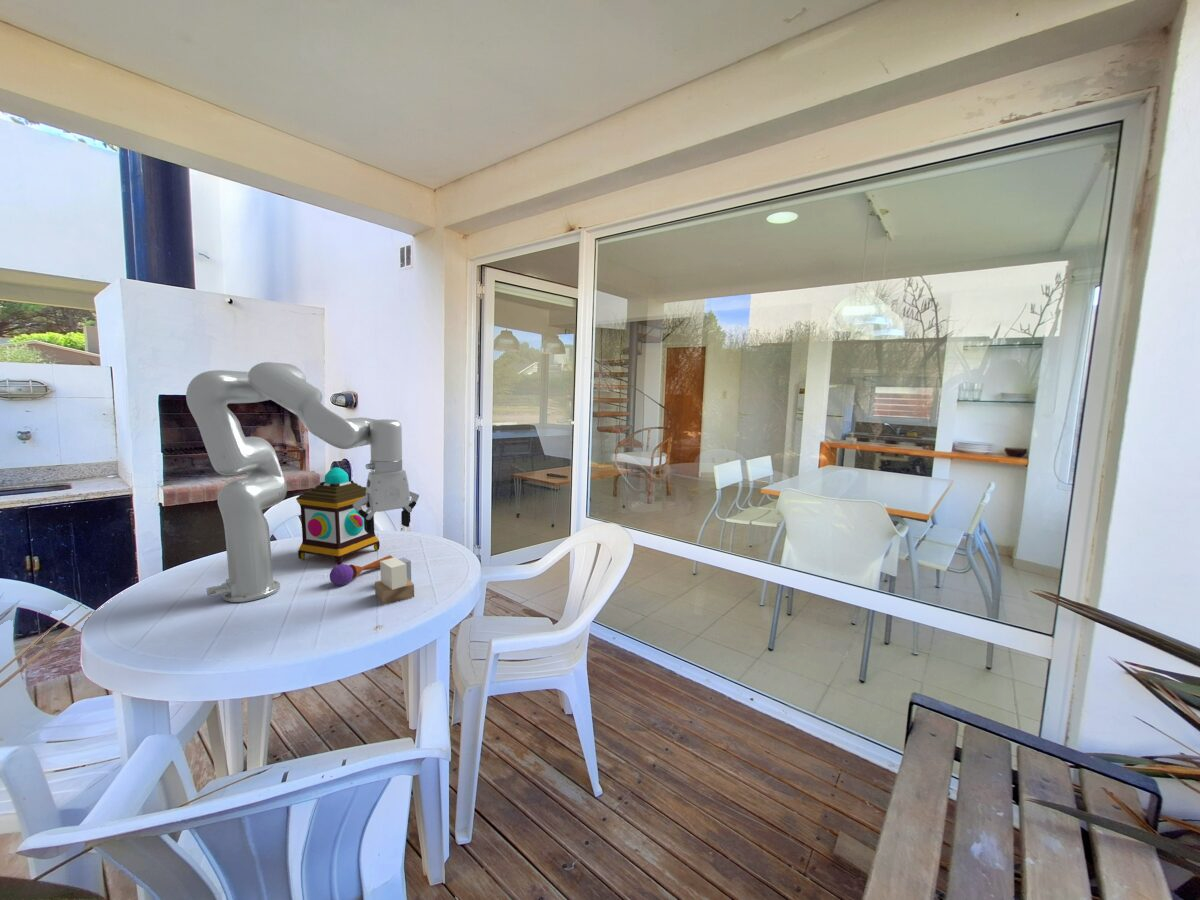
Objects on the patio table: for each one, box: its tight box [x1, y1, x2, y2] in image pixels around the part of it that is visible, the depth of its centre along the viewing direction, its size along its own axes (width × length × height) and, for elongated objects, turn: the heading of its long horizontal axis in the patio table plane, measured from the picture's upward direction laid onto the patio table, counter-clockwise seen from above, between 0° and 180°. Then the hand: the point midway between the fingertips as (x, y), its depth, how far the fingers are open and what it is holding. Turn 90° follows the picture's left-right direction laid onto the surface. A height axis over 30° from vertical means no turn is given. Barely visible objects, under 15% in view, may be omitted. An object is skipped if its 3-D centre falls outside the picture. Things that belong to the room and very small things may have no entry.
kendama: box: [329, 554, 394, 586], centre depth 142 cm, size 6×6×20 cm
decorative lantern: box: [295, 467, 381, 566], centre depth 157 cm, size 20×20×30 cm
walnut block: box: [374, 578, 415, 606], centre depth 129 cm, size 8×8×4 cm
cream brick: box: [379, 557, 407, 590], centre depth 127 cm, size 7×4×6 cm, turn 47°
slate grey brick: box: [397, 557, 412, 581], centre depth 138 cm, size 7×4×6 cm, turn 140°
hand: (388, 529), depth 126 cm, fingers open, 9 cm apart
